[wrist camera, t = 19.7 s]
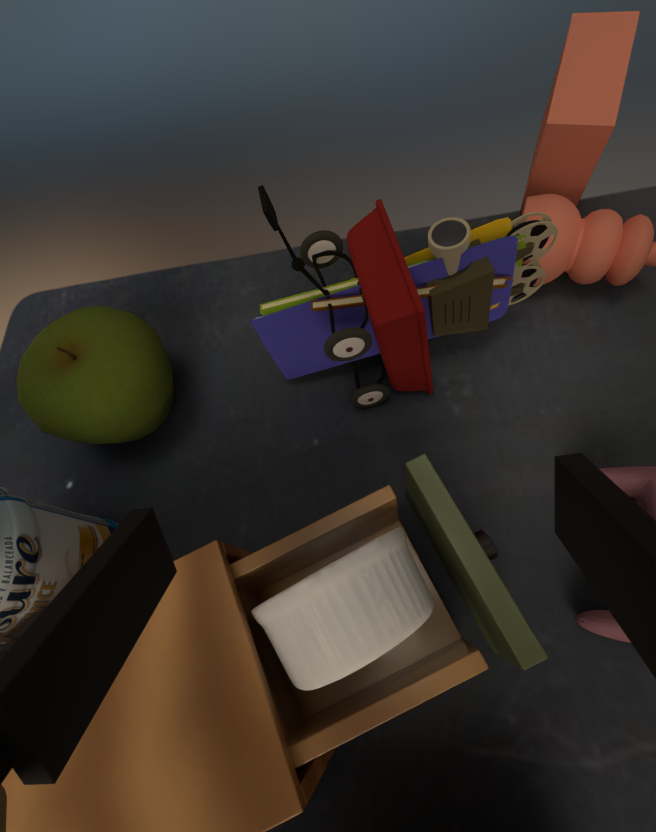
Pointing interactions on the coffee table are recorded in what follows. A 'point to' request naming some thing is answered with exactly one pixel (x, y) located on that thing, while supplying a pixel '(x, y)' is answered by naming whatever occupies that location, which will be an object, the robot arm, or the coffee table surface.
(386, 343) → the toy wheeled cart
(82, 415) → the apple
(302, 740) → the drawer
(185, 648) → the cabinet
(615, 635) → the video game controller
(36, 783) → the robot arm
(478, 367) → the coffee table surface
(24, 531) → the beverage bottle
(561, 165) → the pottery
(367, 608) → the ramekin
